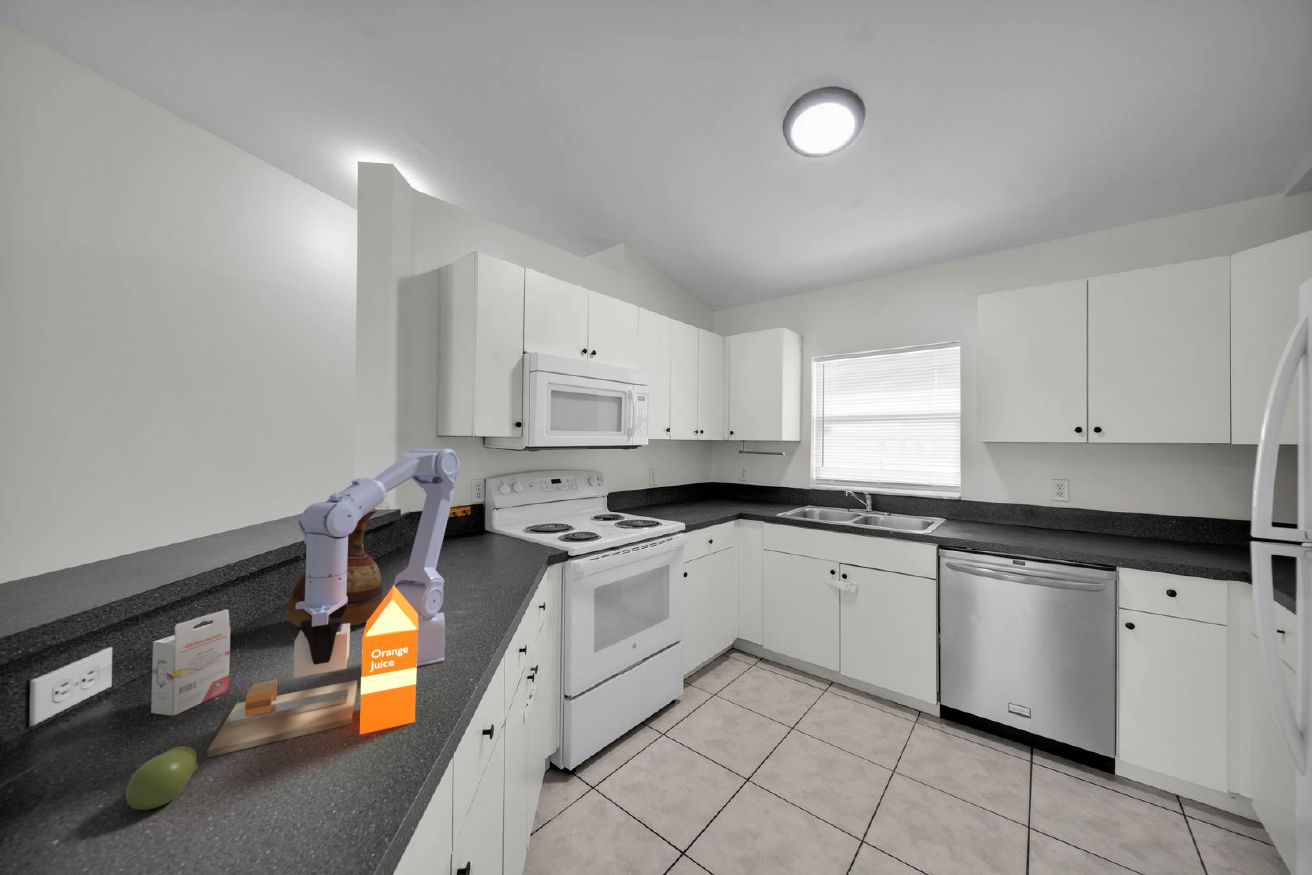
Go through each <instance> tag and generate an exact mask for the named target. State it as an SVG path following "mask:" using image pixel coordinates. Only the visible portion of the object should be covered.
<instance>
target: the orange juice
mask: <svg viewBox="0 0 1312 875" xmlns="http://www.w3.org/2000/svg"><path fill="white" fill-rule="evenodd" d="M392 586H393V588H392V589H391V588H390V589H391V591H390V592H389V591H388V592H389V593H387V595H386V596H385V597H383V600H382V602H381V604H380V605H379V606H378V608H377V609H376V610H375V612H374V613H373V614H372V616H371V617H370V618H369V620H367V622H365V623H366V624H365V626H364V632H363V635H362V638H361V639H362V650H361V677H360V711H359V712H360V715H359V717H360V718H359V719H360V721H359V735H363V734H367V733H368V734H369V733H373V732H377V731H381V730H386V729H390V728H394V727H399V726H403V725H407V724H411V723H416V697H417V696H416V693H417V691H416V690H417V689H416V688H417V672H418V671H417V667H418V666H417V663H416V661H417V630H418V614H417V613H416V611H415V610H414V609H413V608H412V607H411V605H410V604H409V603H408V602H407V601H406V599H405V598H404V597H403V596H402V595H401V593H400V592H399V591H398V590H397V588H396V587H395V586H394V585H393V584H392Z"/></svg>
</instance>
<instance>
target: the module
mask: <svg viewBox="0 0 1312 875" xmlns="http://www.w3.org/2000/svg"><path fill="white" fill-rule="evenodd" d="M350 639H351V626H350V623H347V624H343V623H341V625H340V627H339V629H338V631H337V633H336V637H335V641H334V646H333V651H332V655H331V658H330V661H329V662H327V663H321V664H316V665H314V663H313V661H312V657H311V652H310V647H309V643H308V640H307V638H306V636H305V635H304V633H303V632H302V630H301V629H300V631H299V633H298V635H297V636H296V637H295V639H294V649H293V650H294V652H293V653H294V654H293V676H292V677H293V679H296V678H303V677H308V676H314V675H318V674H324V673H329V672H335V671H341V670H346V669H347V667H348V666H347V662H348V660H349V658H350V647H351V646H350V642H351V640H350Z"/></svg>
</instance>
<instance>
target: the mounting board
mask: <svg viewBox="0 0 1312 875" xmlns="http://www.w3.org/2000/svg"><path fill="white" fill-rule="evenodd" d="M346 689H349V695H348V701H347V703H345V704H340V705H335V706H330V707H326V708H321V709H316V710H312V711H307V712H302V713H298V714H293V715H288V716H284V717H279V718H274V719H269V720H265V721H260V722H255V723H251V724H246V725H241V726H237V727H232V728H229V721H230V719H231V718H232V716H233V714H234V713H235V712H237V711H242V710H245V706H246V701H243V702H239V703H236V704H235V706H234V707H233V708H232V710H231V712H230V713H229V715H228V716H227V718H226V720H225V721H224V723H223V725H222V726H221V728H220V729H219V730H218V732H217V735H216V736H215V737H214V739H213V741H212V742H211V744H210V745H209V746H208V748H207V753H206V754H207V755H206V756H207V757H206V758H210V757H212V758H213V757H216V756H220V755H224V754H229V753H233V752H238V751H242V750H246V749H249V748H254V747H258V746H262V745H268V744H272V743H274V742H275V743H276V742H278V741H279V742H281V741H283V740H285V741H286V740H288V739H293V738H297V737H302V736H306V735H310V734H314V733H319V732H324V731H327V730H332V729H335V728H341V727H344V726H348V725H352V722H353V715H354V709H355V703H356V696H357V692H358V691H357V690H358V679H357V680H352V681H347V682H345V681H344V682H341V683H335V684H330V685H326V686H325V685H324V686H320V687H319V686H318V687H314V688H309V689H305V690H300V691H294V692H290V693H284V694H280V695H277V697H276V700H273V701H272V703H271V705H272V704H277V703H282V702H287V701H291V700H296V699H301V698H306V697H311V696H316V695H321V694H326V693H331V692H336V691H341V690H346Z"/></svg>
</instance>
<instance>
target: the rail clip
mask: <svg viewBox="0 0 1312 875" xmlns="http://www.w3.org/2000/svg"><path fill="white" fill-rule="evenodd" d="M277 693H278V680H277V679H274V680H270V681H263V682H258V683H253V685H251V687H250V689H249V691H248V693H247V694H246V696H245V702H246V706H245V717H247V716H252V715H257V714H262V713H267V712H270V711H271V703H272V701H273V700H276V697H277V696H278V695H277Z"/></svg>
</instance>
